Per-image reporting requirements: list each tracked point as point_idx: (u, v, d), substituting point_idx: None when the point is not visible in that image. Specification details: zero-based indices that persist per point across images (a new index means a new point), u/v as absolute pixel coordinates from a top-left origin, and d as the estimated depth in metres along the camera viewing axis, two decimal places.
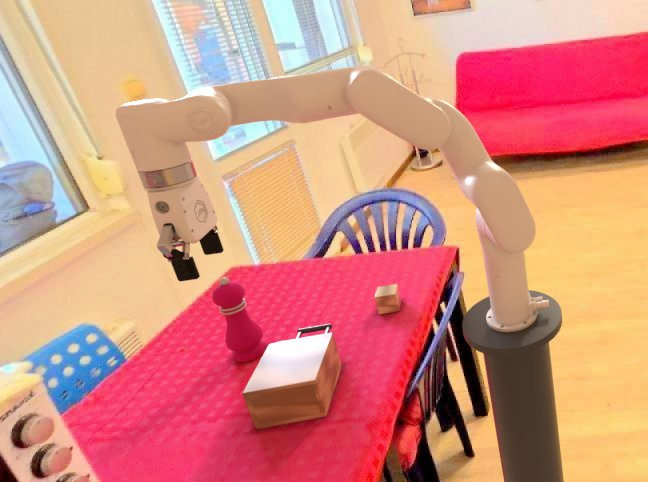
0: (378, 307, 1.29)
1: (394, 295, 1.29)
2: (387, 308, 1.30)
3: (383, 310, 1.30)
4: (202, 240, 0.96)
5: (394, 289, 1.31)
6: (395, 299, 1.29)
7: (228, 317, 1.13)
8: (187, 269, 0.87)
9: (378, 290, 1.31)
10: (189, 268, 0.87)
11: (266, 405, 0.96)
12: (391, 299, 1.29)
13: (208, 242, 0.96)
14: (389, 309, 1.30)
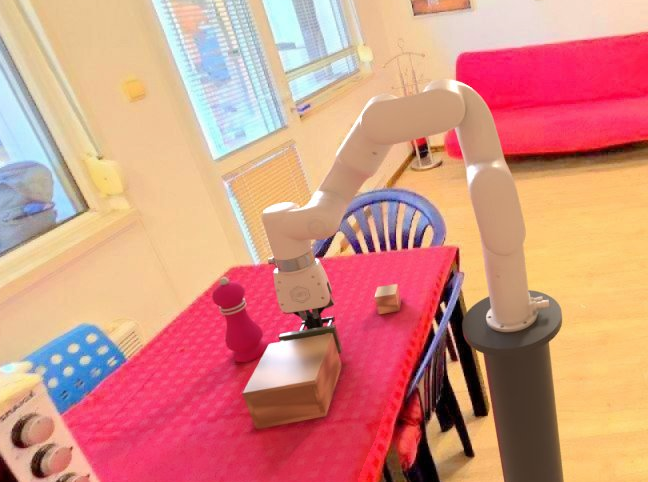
0: (378, 307, 1.29)
1: (394, 295, 1.29)
2: (387, 308, 1.30)
3: (383, 310, 1.30)
4: None
5: (394, 289, 1.31)
6: (395, 299, 1.29)
7: (228, 317, 1.13)
8: (306, 325, 1.16)
9: (378, 290, 1.31)
10: None
11: (266, 405, 0.96)
12: (391, 299, 1.29)
13: None
14: (389, 309, 1.30)
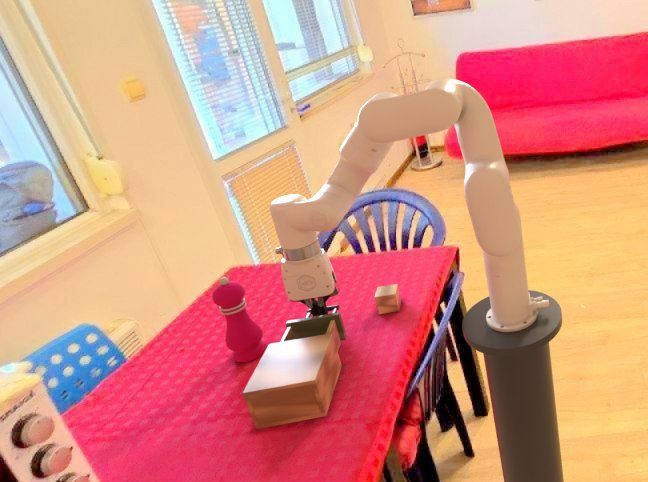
0: (378, 307, 1.29)
1: (394, 295, 1.29)
2: (387, 308, 1.30)
3: (383, 310, 1.30)
4: None
5: (394, 289, 1.31)
6: (395, 299, 1.29)
7: (228, 317, 1.13)
8: None
9: (378, 290, 1.31)
10: None
11: (266, 405, 0.96)
12: (391, 299, 1.29)
13: None
14: (389, 309, 1.30)
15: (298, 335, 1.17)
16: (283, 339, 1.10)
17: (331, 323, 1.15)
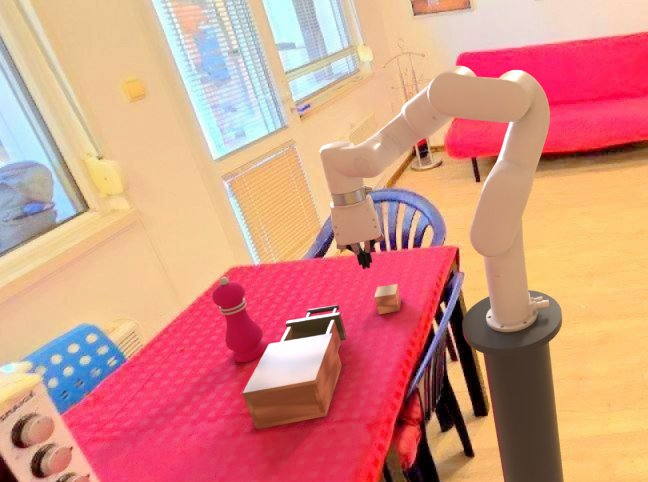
0: (378, 307, 1.29)
1: (394, 295, 1.29)
2: (387, 308, 1.30)
3: (383, 310, 1.30)
4: (363, 256, 1.24)
5: (394, 289, 1.31)
6: (395, 299, 1.29)
7: (228, 317, 1.13)
8: (370, 254, 1.26)
9: (378, 290, 1.31)
10: None
11: (266, 405, 0.96)
12: (391, 299, 1.29)
13: None
14: (389, 309, 1.30)
15: (298, 335, 1.17)
16: (283, 339, 1.10)
17: (331, 323, 1.15)
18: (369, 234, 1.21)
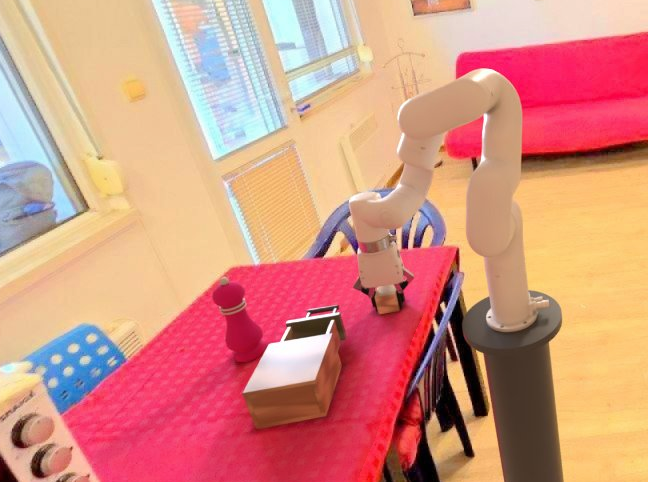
0: (378, 307, 1.29)
1: (394, 295, 1.29)
2: (387, 308, 1.30)
3: (383, 310, 1.30)
4: None
5: (394, 289, 1.31)
6: (395, 299, 1.29)
7: (228, 317, 1.13)
8: None
9: (378, 290, 1.31)
10: None
11: (266, 405, 0.96)
12: (391, 299, 1.29)
13: None
14: (389, 309, 1.30)
15: (298, 335, 1.17)
16: (283, 339, 1.10)
17: (331, 323, 1.15)
18: (392, 279, 1.28)
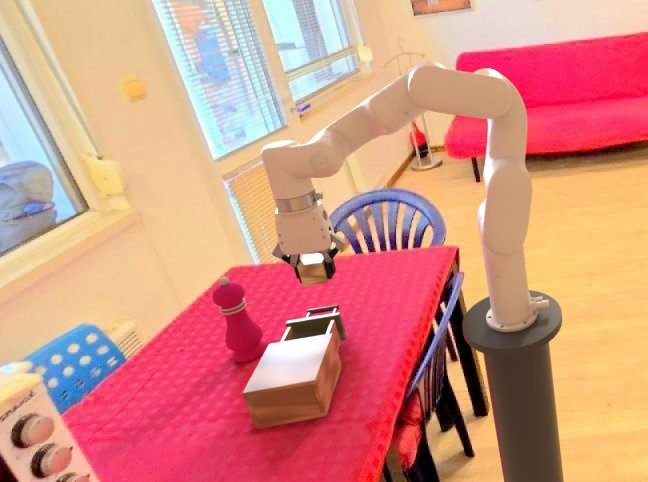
0: (302, 278, 1.10)
1: (320, 264, 1.10)
2: (313, 279, 1.11)
3: (308, 282, 1.11)
4: None
5: (321, 258, 1.12)
6: (322, 269, 1.10)
7: (228, 317, 1.13)
8: (334, 264, 1.14)
9: (303, 258, 1.12)
10: None
11: (266, 405, 0.96)
12: (317, 268, 1.10)
13: None
14: (315, 280, 1.11)
15: (298, 335, 1.17)
16: (283, 339, 1.10)
17: (331, 323, 1.15)
18: (317, 245, 1.09)
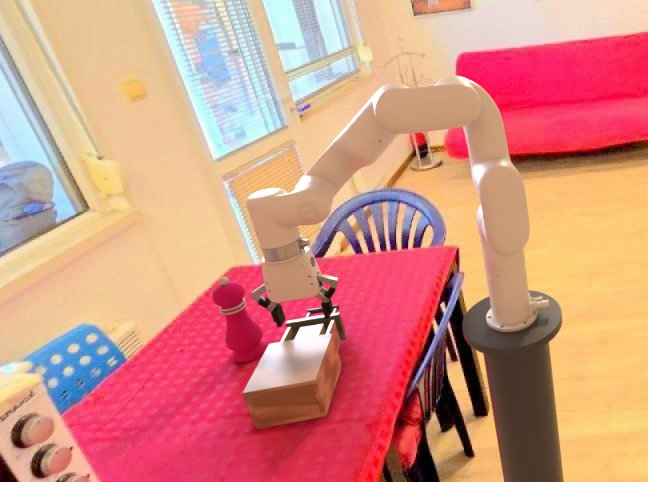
0: None
1: None
2: None
3: None
4: (278, 313, 1.09)
5: (318, 331, 1.13)
6: None
7: (228, 317, 1.13)
8: (331, 303, 1.13)
9: (300, 331, 1.13)
10: None
11: (266, 405, 0.96)
12: None
13: (280, 313, 1.10)
14: None
15: None
16: (283, 339, 1.10)
17: (331, 323, 1.15)
18: (305, 292, 1.08)
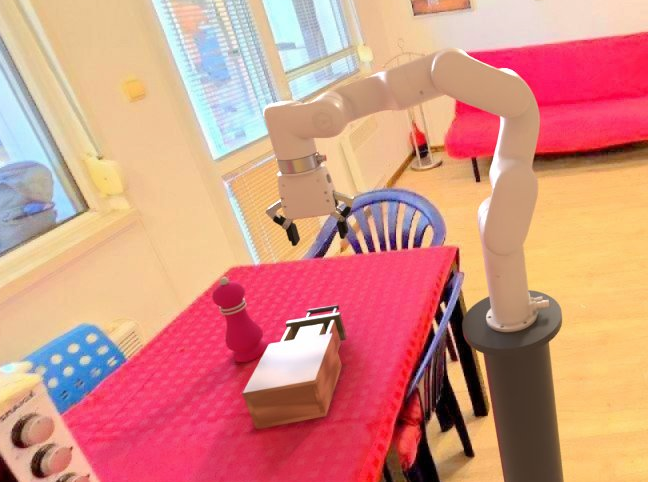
0: None
1: None
2: None
3: None
4: (293, 232, 1.08)
5: (318, 331, 1.13)
6: None
7: (228, 317, 1.13)
8: None
9: (300, 331, 1.13)
10: None
11: (266, 405, 0.96)
12: None
13: (295, 232, 1.09)
14: None
15: None
16: (283, 339, 1.10)
17: (331, 323, 1.15)
18: (321, 209, 1.06)
